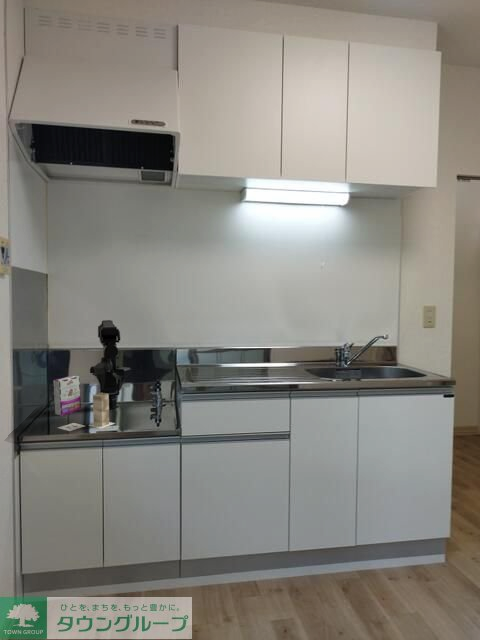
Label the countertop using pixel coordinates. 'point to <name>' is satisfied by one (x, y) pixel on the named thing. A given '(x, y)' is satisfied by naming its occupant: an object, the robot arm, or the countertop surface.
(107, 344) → the robot arm
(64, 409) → the candy bar box
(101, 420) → the beech block
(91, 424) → the code tile
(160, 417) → the countertop surface
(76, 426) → the tile
